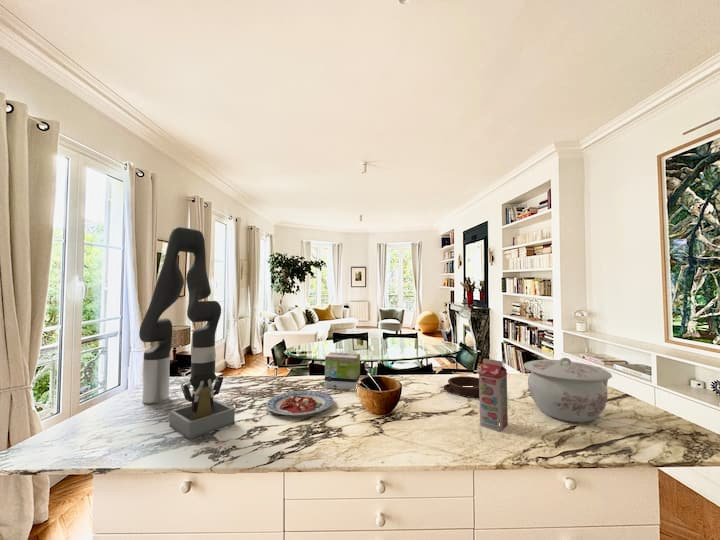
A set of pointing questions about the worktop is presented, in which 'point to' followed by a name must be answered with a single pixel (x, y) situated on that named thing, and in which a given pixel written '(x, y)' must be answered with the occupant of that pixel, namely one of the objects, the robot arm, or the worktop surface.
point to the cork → (203, 403)
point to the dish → (459, 382)
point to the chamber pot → (568, 389)
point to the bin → (201, 420)
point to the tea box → (342, 370)
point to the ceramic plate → (299, 403)
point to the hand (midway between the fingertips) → (202, 410)
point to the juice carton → (493, 395)
